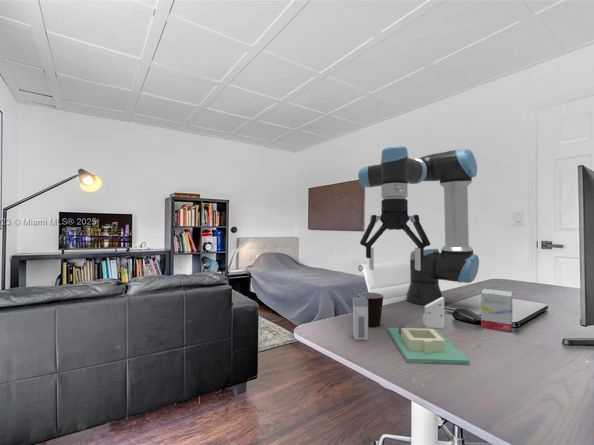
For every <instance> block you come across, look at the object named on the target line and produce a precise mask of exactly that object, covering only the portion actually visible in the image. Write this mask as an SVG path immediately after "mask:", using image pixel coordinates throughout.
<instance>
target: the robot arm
mask: <svg viewBox="0 0 594 445" xmlns="http://www.w3.org/2000/svg"><path fill="white" fill-rule="evenodd" d="M477 175H478V164H477V160H476V157H475V155H474V153H473V152H472V151H471V149H469V148H462V149H454V150H449V151H448V150H447V151H444V152H443V151H442V152H438V153H437V152H436V153H432V154H428V155H423V156H421V157H418V158H410V157H409V154H408V148H407V147H406V146H405V145H404V146H403V145H392V146H388V147H384V148H383V150H381V158H380V164H374V165H367V166H365V167H362V168H360V169H359V171H358V175H357V177H358V183H359V184H360V186H361V187H363V188H375V187H381V193H380V196H381V199H382V200H381V202H380V204H381V210H380V212H381V214H380V215H376V214H371V215H370V218H369V219H370V220H369V221H370V222H369V223H368V226H367V227H366V229H365V231H364V233H363V235H362V237H361V240H360V242H359V245H361V246H363V247H365V258H367V259H369V261H368V262H369V263H368V265H369V270H370V271H374V267H375V266H374V265H375V264H374V263H375V262H374V260H375V257H374V256H375V255H374V254H375V253H374V252H375V250H374V247H372V246H373V245H374V244H375V243H376V241H377V240H378V239H379V238H380V237H381V236H382V235H383V233H384V232H385V231H386V230H388V231H393V230H397V231H400V230H402V231H403V232H404V233H405V234H406V235H407V236H408V237H409V238H410V240H411V241H412V242H413V243H414V244H415V246H417V247H414V250H413V251H411V252H410V257H409V258H410V259H409V265H410V268H409V270H410V275H409V277H410V284H409V286H408V290H407V293H406V300H407V302H409V303H411V304H416V305H422V306H426V305H428V304H429V303H431V302H433V301H435V300H437V299H439V298H440V297H444V296H443V294H442V290H441V287H440V284H439V281H440V280H441V281H448V282H456V283H457V282H458V283H459V284H460V283H461V284H462V283H464V284H465V283H466V284H470V283H472V282H474V281H475V279H476V277H477V275H478V272H479V265H480V259H479V255H477V254H475V253H474V249H473V248H472V247H471V246H470V244H469V243H470V242H469V241H470V240H469V204H468V203H469V201H468V200H469V197H468V196H469V193H468V190H469V188H468V187H469V186H470V185H471V184H472V183H473V180H472V178H473V179H474V178H475V177H476V176H477ZM422 182H439V185H440V186H441V187H442V188H443V196H444V197H443V200H444V201H443V203H444V204H443V205H444V243H445V244H444V245H443V246H442V247H441V249H440V250H441V252H440V251H439V249H438V248H429V249H425V248H426V247H430V246H431V241H430V240H429V237H428V236H427V234H426V231H425V230H424V228H423V226H422V224H421V223H420V217H419V214H413V215H409V210H408V209H409V208H408V207H409V204H408V199H407V198H408V188H409V187H408V184H409V185H413V184H414V185H416V184H417V185H418V184H420V183H422ZM379 220H380V222H381V223H382V225H381V226H379V228H378V229H377V230H376V232H375V233H374V234H373V235H372V237H371V238H370V239H369V237H370V235H371V233H372V231H373V229H374V227H375V225H376V223H378V221H379ZM408 221H410V223H412V225H413V226H414V228H415V230H416V233H417V235H418V236H417V235H416V233H414V232H413V230H412V229H411V227H410V226H409V225H408V224H407V223H408ZM418 237H419V238H418ZM368 239H369V240H368Z"/></svg>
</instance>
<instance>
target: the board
mask: <svg viewBox="0 0 594 445" xmlns="http://www.w3.org/2000/svg"><path fill="white" fill-rule="evenodd" d="M387 332H388V333H389V335H390V337H391V338H392V340H393V342H394V343H395V345H396V347H397V348H398V350H399V352H400V354H401V355H402V357H403V358H404V360H405V361H406V363H409V364H410V363H413V364H416V363H417V364H438V365H439V364H440V365H441V364H442V365H470V359H469V358H467V357H466V356H465V354H464V353H462V352H461V351H460V350H459V349H458V348H457V347H456V346H454V345H453V344H452V342H451V341H449V340H448V339H447V338H446V337H445V336H444V335H443V334H441V332H440V331H439V330H437V328H426V327H425V328H424V327H423V328H420V327H416V328H415V327H407V325H406V324H403V323H402V324H398V327H388V328H387Z"/></svg>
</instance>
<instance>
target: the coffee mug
mask: <svg viewBox="0 0 594 445" xmlns="http://www.w3.org/2000/svg"><path fill="white" fill-rule="evenodd" d="M356 297H366V298H367V299H368V328H378V327H380V326H381V321H382V312H383V311H382V310H383V304H384V303H383V302H384V295H383V294H381V293H378V292H366V291H365V292H360V293H357V295H356Z"/></svg>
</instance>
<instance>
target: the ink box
mask: <svg viewBox="0 0 594 445" xmlns="http://www.w3.org/2000/svg"><path fill="white" fill-rule="evenodd" d="M480 295H481V297H480V298H481V299H480V302H481V303H480V306H481V307H480V313H481V314H480V315H481V316H480V326H481V328H484V329H490V330H495V331H502V332H508V333H512V331H513V291H508V290H498V289H492V288H483V289H482V291H481V292H480Z"/></svg>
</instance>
